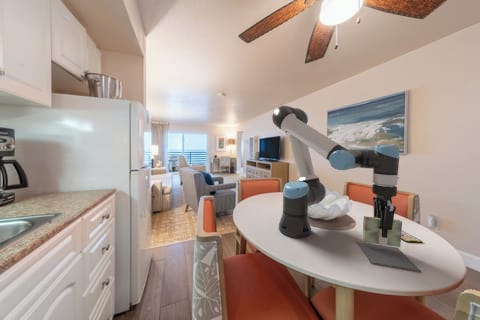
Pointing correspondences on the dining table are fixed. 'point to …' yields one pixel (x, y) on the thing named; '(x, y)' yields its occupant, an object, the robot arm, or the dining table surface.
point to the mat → (387, 256)
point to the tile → (373, 231)
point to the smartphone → (409, 238)
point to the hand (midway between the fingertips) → (381, 242)
